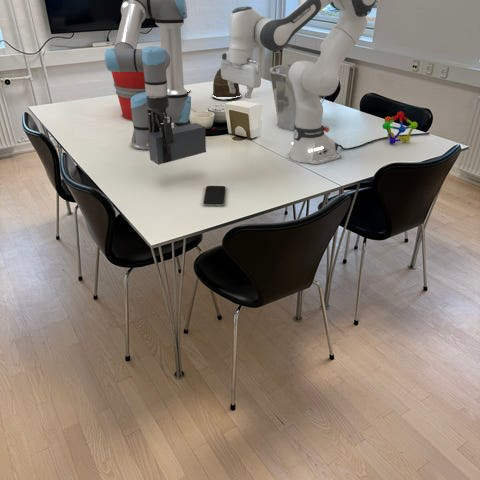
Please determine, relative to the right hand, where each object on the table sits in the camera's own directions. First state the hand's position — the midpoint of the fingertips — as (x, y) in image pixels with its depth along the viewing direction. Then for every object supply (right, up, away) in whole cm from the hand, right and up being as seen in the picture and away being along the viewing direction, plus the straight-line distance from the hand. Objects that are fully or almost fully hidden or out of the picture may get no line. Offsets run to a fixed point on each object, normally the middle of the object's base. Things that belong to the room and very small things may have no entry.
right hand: (240, 95), depth 169 cm
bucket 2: (+29, +5, +65) cm, 71 cm away
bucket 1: (-53, +15, +80) cm, 97 cm away
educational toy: (+74, -9, +42) cm, 86 cm away
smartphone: (-9, -39, -7) cm, 41 cm away
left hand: (-29, -25, -4) cm, 38 cm away
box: (-23, -23, 0) cm, 33 cm away
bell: (-9, +36, +113) cm, 119 cm away
